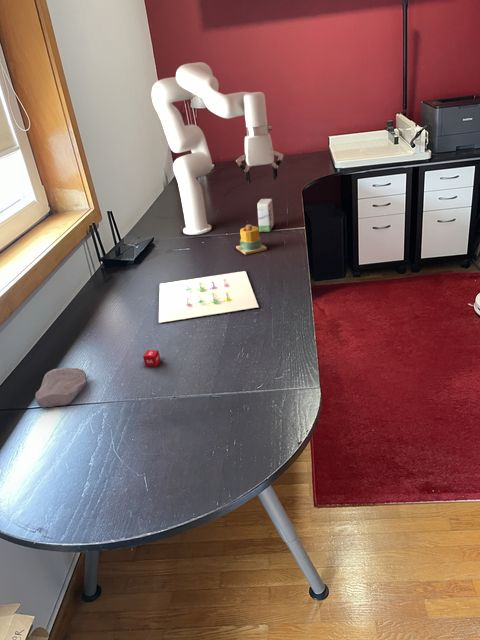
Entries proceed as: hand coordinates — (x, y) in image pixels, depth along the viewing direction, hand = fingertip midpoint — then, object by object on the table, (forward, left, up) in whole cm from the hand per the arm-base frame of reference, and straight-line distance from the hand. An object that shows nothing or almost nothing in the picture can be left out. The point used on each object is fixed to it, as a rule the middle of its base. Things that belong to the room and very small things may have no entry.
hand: (261, 180), depth 188 cm
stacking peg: (+1, -8, -24) cm, 26 cm away
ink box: (-18, +8, -25) cm, 31 cm away
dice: (+62, -64, -25) cm, 92 cm away
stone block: (+63, -86, -25) cm, 109 cm away
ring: (+1, -8, -20) cm, 22 cm away
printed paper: (+31, -38, -25) cm, 55 cm away
